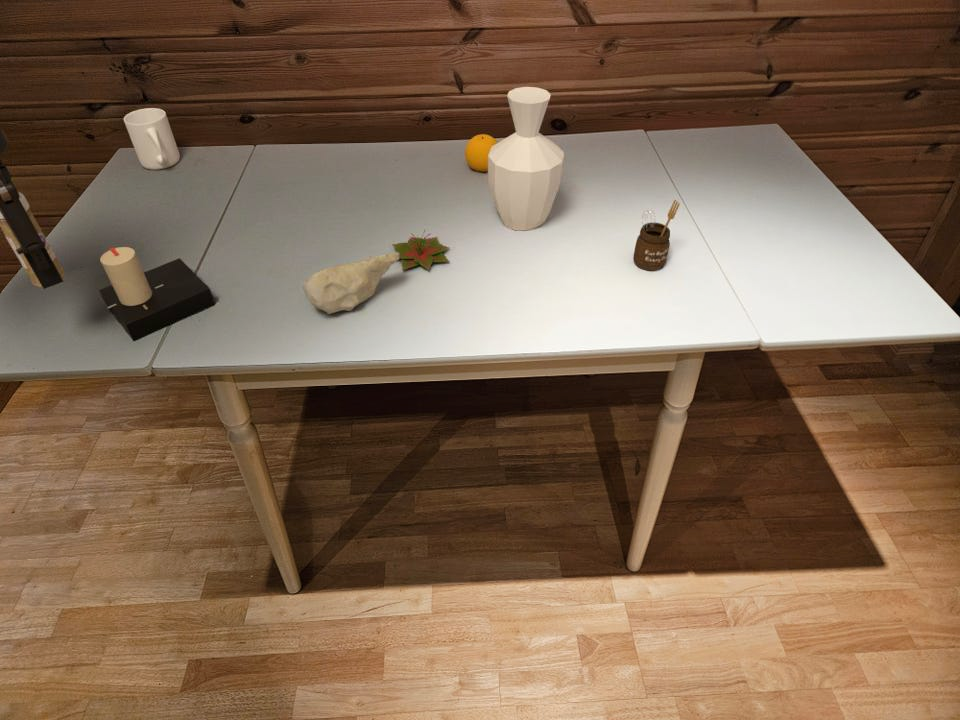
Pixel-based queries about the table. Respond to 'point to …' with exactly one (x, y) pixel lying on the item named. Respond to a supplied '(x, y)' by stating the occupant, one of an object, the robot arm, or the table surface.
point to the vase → (525, 164)
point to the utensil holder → (653, 243)
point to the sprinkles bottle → (15, 245)
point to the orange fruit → (479, 151)
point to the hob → (161, 300)
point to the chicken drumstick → (347, 283)
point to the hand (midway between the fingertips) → (47, 276)
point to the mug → (152, 138)
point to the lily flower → (420, 252)
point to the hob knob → (126, 276)
